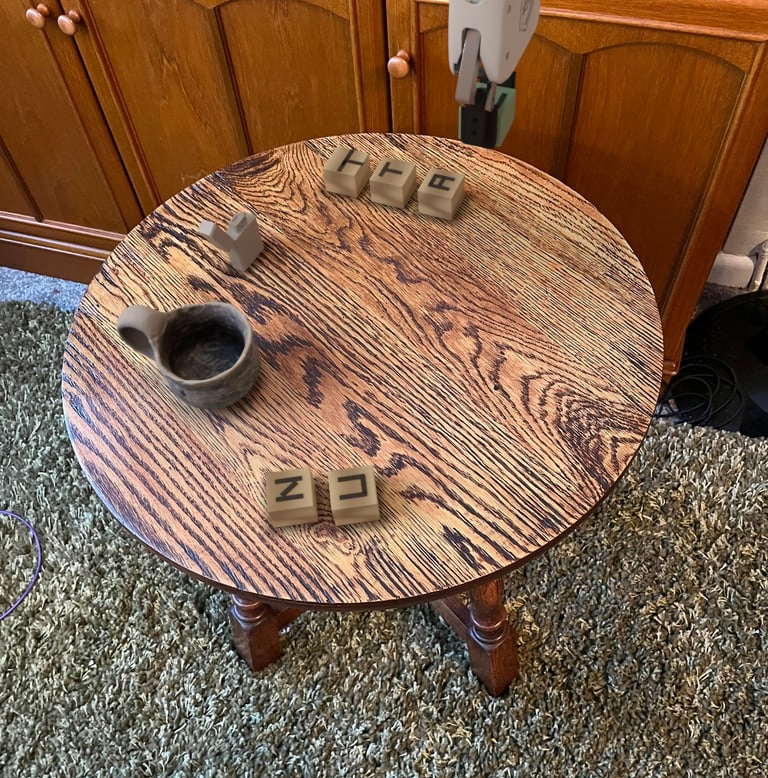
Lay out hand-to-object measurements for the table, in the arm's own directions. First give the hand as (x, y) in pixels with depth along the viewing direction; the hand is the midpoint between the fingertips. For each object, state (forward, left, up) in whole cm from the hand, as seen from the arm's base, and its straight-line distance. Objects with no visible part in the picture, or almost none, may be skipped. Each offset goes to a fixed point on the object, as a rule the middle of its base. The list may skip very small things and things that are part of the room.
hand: (487, 126), depth 70 cm
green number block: (0, 0, 0) cm, 0 cm away
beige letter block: (+13, -13, -14) cm, 24 cm away
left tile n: (+22, +28, -14) cm, 39 cm away
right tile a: (+3, -7, -14) cm, 17 cm away
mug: (+30, +13, -15) cm, 36 cm away
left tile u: (+17, +29, -14) cm, 36 cm away
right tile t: (+8, -10, -14) cm, 20 cm away
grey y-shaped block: (+26, -3, -15) cm, 30 cm away
